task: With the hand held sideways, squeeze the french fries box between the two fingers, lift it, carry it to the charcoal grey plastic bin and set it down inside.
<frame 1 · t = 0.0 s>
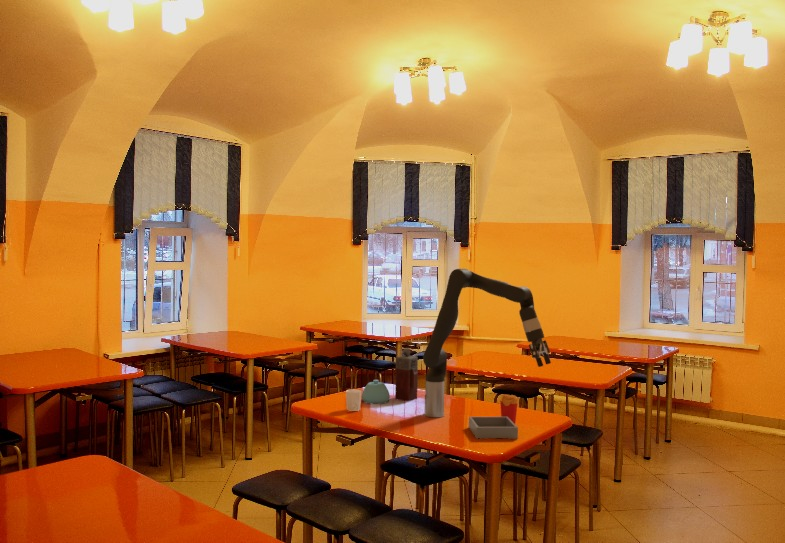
hand: (544, 365, 272), 31 cm above the table, tool tilted 20°, fingers open, 8 cm apart
brown coffee grinder: (408, 399, 341), on the table
bin: (492, 432, 277), on the table
french fries: (508, 422, 296), on the table
white cup: (353, 410, 314), on the table
sugar bowl: (375, 401, 335), on the table
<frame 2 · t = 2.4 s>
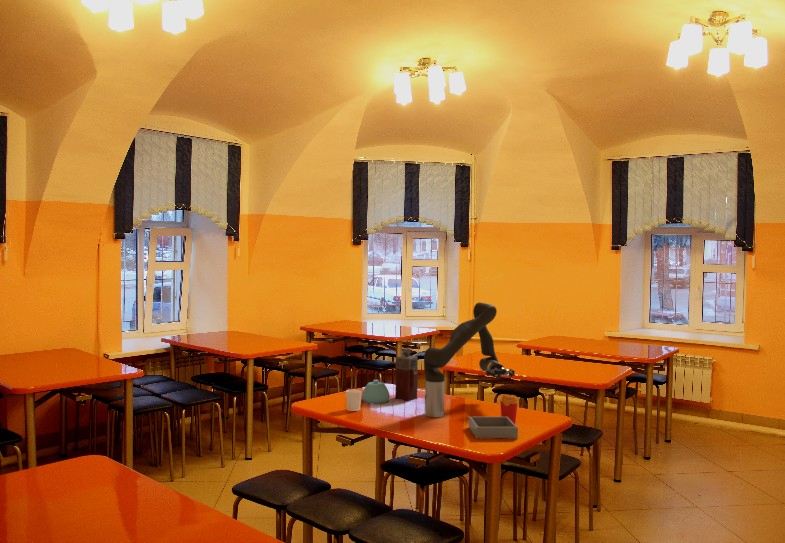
hand: (503, 375, 308), 20 cm above the table, tool horizontal, fingers open, 8 cm apart
nothing on the table moved.
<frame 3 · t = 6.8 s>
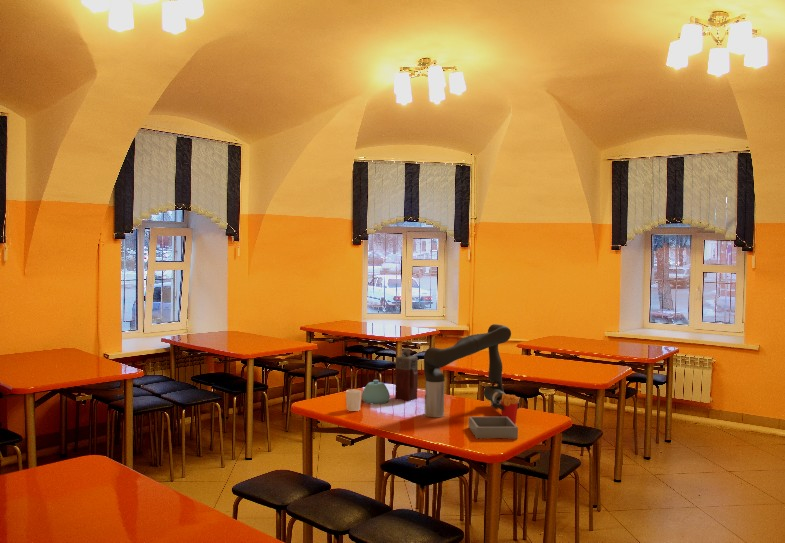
hand: (509, 408, 294), 7 cm above the table, tool horizontal, fingers closed on french fries, 5 cm apart
french fries: (509, 422, 296), on the table, touching gripper
everything else where it was.
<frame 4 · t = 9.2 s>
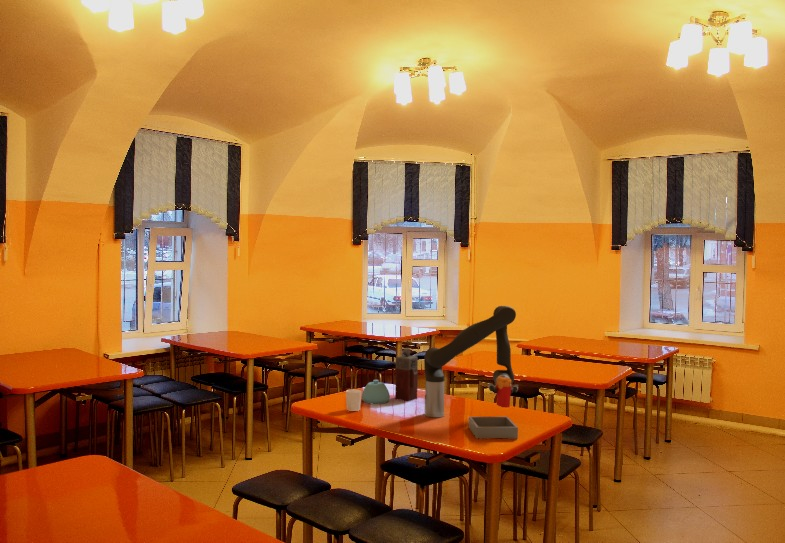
hand: (503, 391, 282), 18 cm above the table, tool horizontal, fingers closed on french fries, 5 cm apart
french fries: (503, 406, 284), point 10 cm above the table, touching gripper
everything else where it was.
when the fingers open (10 cm above the table, at t = 11.8 s): french fries drops 1 cm, resting on bin.
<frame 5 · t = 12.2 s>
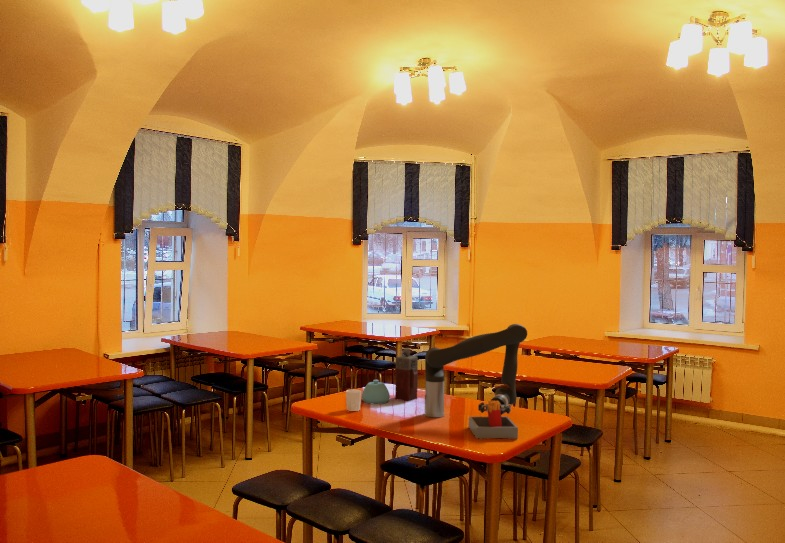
hand: (491, 411, 276), 10 cm above the table, tool horizontal, fingers open, 8 cm apart
french fries: (496, 430, 277), point 1 cm above the table, touching bin, gripper
everything else where it was.
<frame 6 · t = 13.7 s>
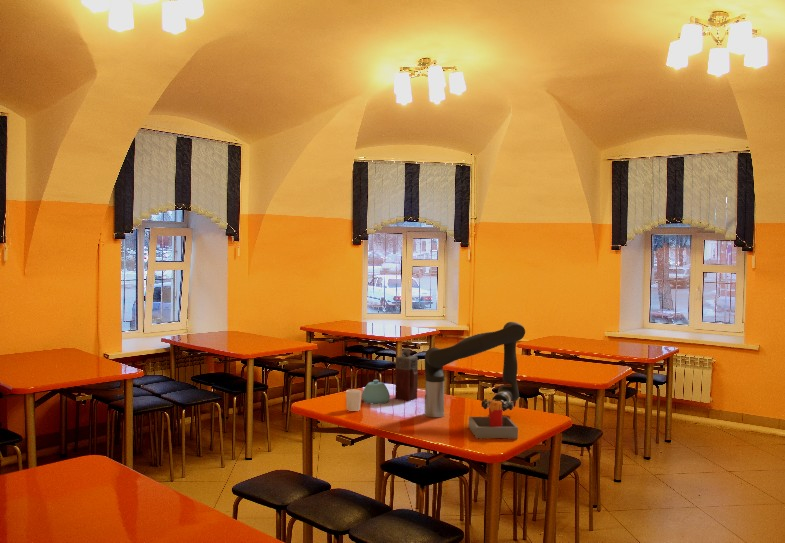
hand: (494, 408, 282), 10 cm above the table, tool horizontal, fingers open, 8 cm apart
french fries: (496, 430, 277), point 1 cm above the table, touching bin
everything else where it was.
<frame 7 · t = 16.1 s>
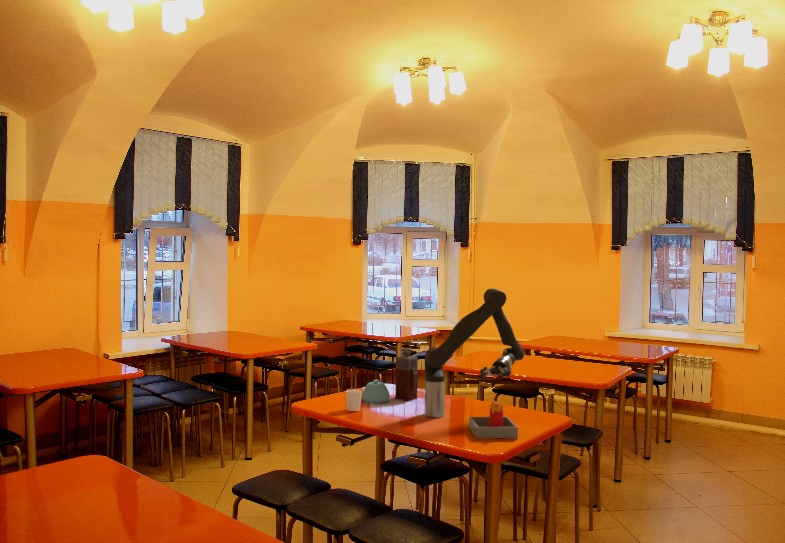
hand: (490, 377, 290), 22 cm above the table, tool horizontal, fingers open, 8 cm apart
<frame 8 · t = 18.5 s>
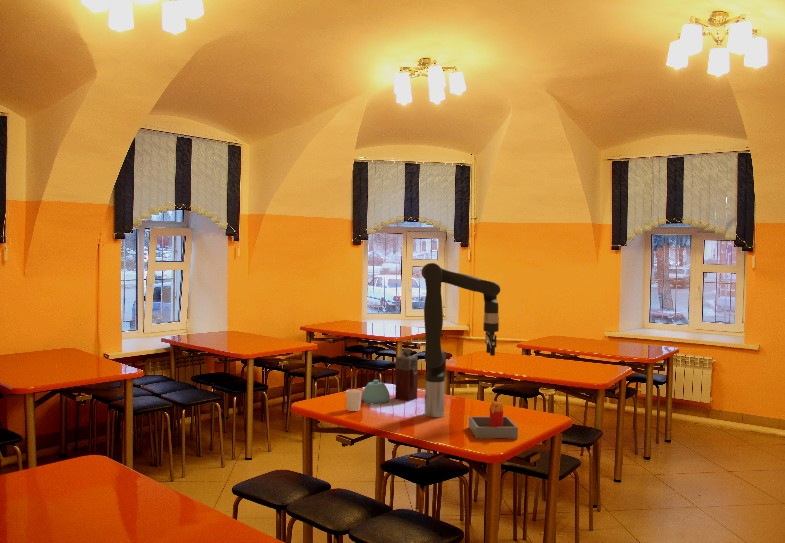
hand: (490, 354, 310), 30 cm above the table, tool pointing down, fingers open, 8 cm apart
nothing on the table moved.
at the end: french fries inside the target area on the bin (1.8 cm from its centre), point 0.8 cm above the bin's base; the gripper is holding nothing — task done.
